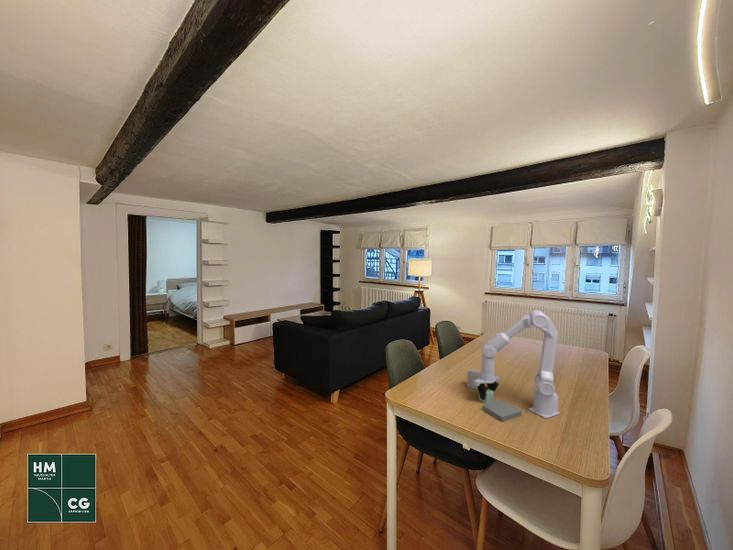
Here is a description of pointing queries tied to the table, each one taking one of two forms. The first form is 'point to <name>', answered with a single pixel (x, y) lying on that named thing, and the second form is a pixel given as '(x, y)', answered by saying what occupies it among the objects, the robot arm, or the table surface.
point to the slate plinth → (501, 410)
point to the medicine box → (472, 378)
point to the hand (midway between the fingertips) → (486, 398)
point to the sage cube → (488, 397)
